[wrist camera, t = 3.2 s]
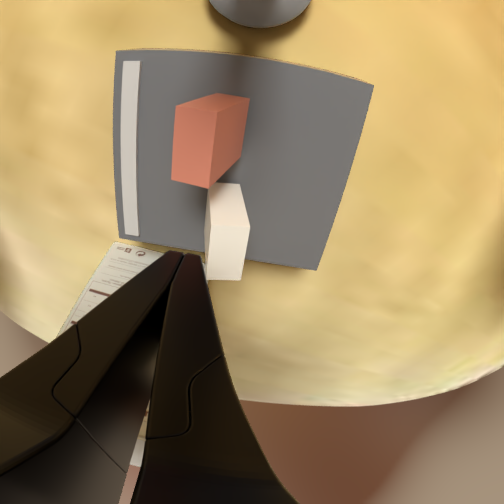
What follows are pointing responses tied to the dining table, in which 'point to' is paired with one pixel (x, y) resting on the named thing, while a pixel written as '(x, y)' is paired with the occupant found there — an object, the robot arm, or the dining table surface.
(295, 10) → the stand
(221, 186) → the cream flat brick
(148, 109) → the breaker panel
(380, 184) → the dining table surface
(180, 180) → the terracotta brick
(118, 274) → the supplement box
